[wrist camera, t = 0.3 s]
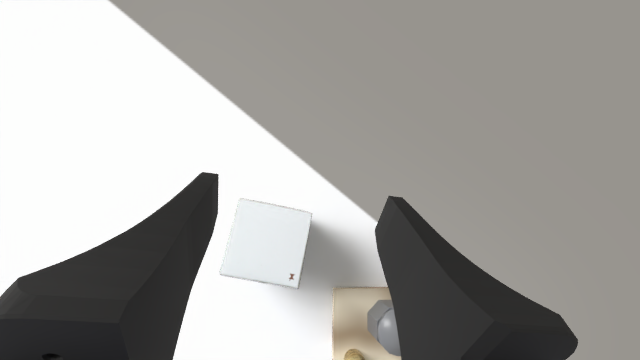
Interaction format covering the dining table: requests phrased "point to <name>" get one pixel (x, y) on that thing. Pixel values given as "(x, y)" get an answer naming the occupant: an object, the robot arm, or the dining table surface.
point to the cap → (384, 326)
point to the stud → (353, 355)
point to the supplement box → (267, 244)
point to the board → (357, 322)
